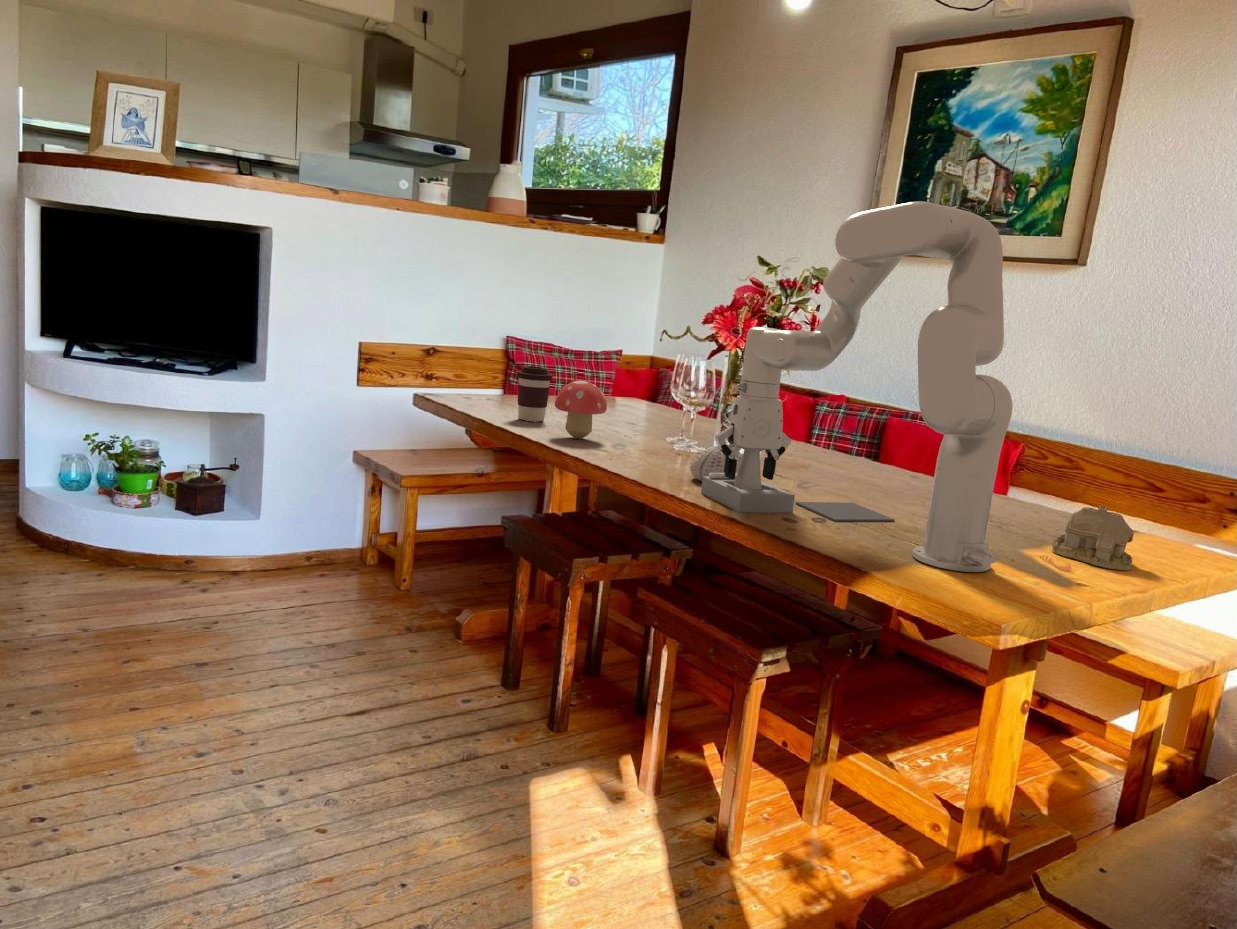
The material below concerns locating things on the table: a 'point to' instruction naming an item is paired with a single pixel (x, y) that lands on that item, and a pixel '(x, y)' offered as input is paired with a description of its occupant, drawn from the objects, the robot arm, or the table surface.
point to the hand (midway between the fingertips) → (748, 477)
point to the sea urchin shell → (711, 462)
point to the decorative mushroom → (580, 406)
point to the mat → (843, 511)
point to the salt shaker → (749, 471)
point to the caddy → (746, 495)
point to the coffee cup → (533, 392)
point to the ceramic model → (1096, 538)
